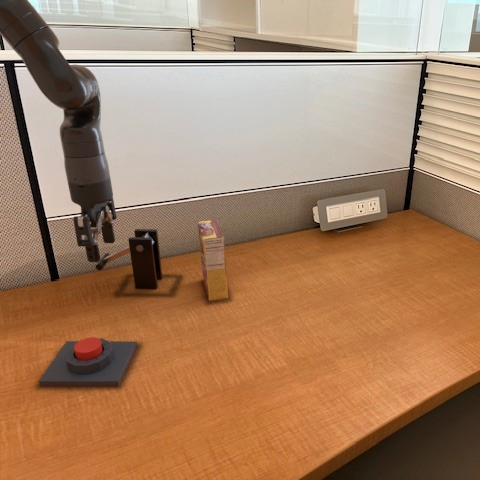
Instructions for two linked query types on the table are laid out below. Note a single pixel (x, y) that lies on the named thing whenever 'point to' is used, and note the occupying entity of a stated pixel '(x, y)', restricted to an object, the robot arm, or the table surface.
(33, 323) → the table surface
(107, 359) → the control block
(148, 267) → the bracket
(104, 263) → the lever
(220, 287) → the candy box
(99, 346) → the button
